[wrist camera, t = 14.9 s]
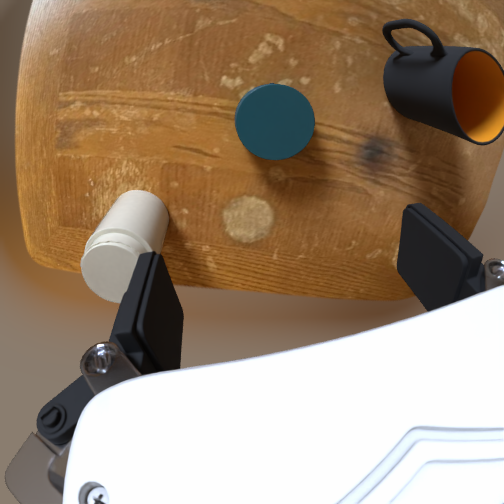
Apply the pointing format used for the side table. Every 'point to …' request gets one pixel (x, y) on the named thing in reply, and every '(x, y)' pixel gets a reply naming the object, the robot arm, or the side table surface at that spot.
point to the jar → (123, 242)
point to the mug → (446, 86)
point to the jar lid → (274, 121)
